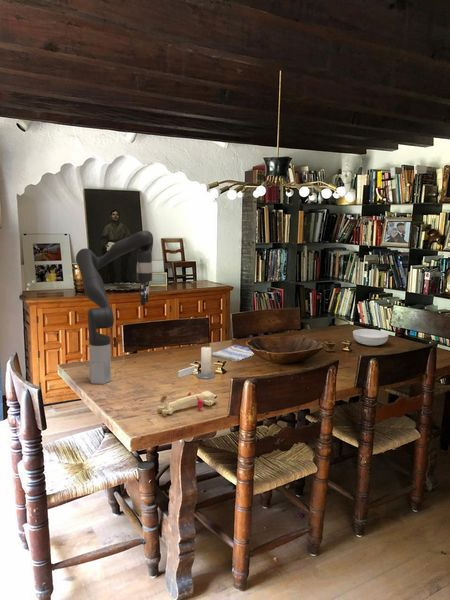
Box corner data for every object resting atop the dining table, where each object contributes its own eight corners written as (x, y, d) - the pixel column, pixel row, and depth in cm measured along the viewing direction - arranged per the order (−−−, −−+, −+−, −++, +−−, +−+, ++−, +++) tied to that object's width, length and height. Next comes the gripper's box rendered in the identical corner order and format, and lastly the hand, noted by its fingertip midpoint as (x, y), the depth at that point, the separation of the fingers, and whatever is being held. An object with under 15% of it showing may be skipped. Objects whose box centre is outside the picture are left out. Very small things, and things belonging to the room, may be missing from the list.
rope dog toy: (167, 423, 181) (223, 404, 195) (165, 401, 179) (222, 383, 193) (155, 413, 189) (209, 396, 203) (153, 392, 187) (208, 376, 201)
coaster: (215, 379, 225) (215, 378, 225) (195, 379, 225) (195, 377, 225) (215, 373, 234) (215, 372, 234) (196, 372, 234) (196, 371, 234)
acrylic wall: (208, 367, 242) (208, 362, 242) (179, 377, 227) (179, 371, 226) (207, 367, 243) (207, 361, 242) (178, 377, 227) (178, 370, 227)
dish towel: (210, 357, 263) (210, 352, 262) (235, 348, 281) (235, 343, 281) (236, 363, 252) (236, 358, 252) (261, 354, 271) (261, 349, 271)
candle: (210, 376, 228) (211, 347, 225) (200, 376, 228) (201, 347, 225) (210, 373, 232) (211, 345, 230) (201, 373, 232) (201, 344, 230)
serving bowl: (347, 339, 306) (347, 328, 305) (379, 339, 308) (380, 328, 307) (359, 348, 286) (360, 337, 285) (393, 348, 288) (394, 337, 287)
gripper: (149, 273, 234) (149, 306, 237) (154, 270, 249) (154, 301, 251) (134, 273, 234) (134, 306, 237) (139, 269, 248) (139, 301, 251)
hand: (144, 303), depth 244 cm, fingers open, 8 cm apart
